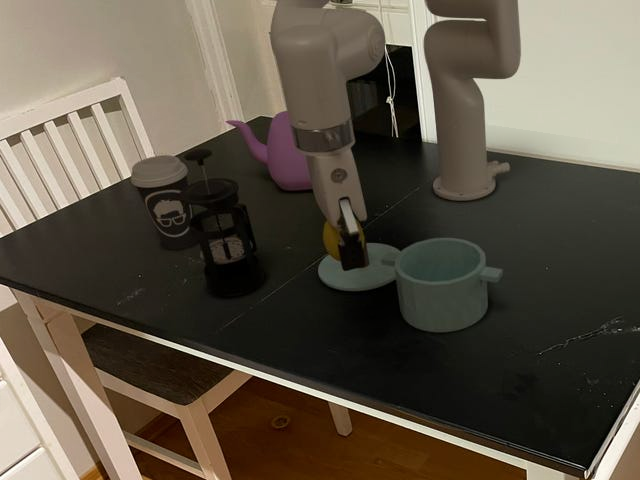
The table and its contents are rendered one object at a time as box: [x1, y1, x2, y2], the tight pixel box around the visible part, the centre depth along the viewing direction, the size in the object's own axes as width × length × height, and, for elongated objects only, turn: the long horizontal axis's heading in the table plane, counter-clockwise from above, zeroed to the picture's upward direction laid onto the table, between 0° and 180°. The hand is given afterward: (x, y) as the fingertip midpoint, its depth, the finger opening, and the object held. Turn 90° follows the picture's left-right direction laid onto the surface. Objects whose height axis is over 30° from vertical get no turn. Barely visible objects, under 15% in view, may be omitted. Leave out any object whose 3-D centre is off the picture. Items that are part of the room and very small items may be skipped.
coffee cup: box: [130, 154, 199, 250], centre depth 132 cm, size 10×10×15 cm
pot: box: [381, 236, 504, 333], centre depth 113 cm, size 14×19×8 cm
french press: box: [179, 148, 265, 299], centre depth 117 cm, size 12×9×23 cm
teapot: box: [225, 110, 313, 191], centre depth 153 cm, size 23×21×15 cm
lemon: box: [322, 218, 365, 262], centre depth 102 cm, size 6×6×8 cm
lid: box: [317, 235, 402, 292], centre depth 123 cm, size 15×15×6 cm
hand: (347, 256), depth 104 cm, fingers closed on lemon, 5 cm apart
